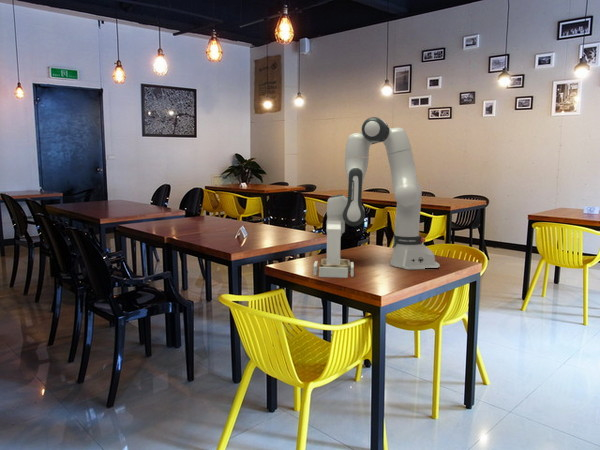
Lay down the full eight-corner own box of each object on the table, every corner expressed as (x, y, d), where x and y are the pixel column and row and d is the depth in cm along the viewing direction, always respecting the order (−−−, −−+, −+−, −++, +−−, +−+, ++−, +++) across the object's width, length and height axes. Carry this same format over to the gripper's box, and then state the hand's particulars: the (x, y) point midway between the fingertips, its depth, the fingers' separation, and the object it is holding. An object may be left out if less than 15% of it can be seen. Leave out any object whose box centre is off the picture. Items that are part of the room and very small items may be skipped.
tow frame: (348, 260, 239) (348, 253, 238) (350, 272, 214) (350, 264, 214) (321, 259, 240) (321, 252, 239) (320, 271, 215) (320, 263, 215)
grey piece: (353, 270, 217) (353, 262, 216) (353, 278, 205) (353, 268, 204) (314, 269, 218) (315, 260, 218) (313, 276, 206) (313, 267, 206)
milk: (326, 268, 222) (327, 219, 219) (339, 268, 221) (340, 220, 218) (326, 271, 216) (326, 221, 213) (340, 271, 215) (340, 221, 212)
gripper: (342, 232, 225) (341, 261, 227) (342, 225, 245) (341, 252, 247) (328, 231, 225) (327, 261, 227) (329, 225, 245) (329, 252, 247)
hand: (335, 256), depth 237 cm, fingers closed
